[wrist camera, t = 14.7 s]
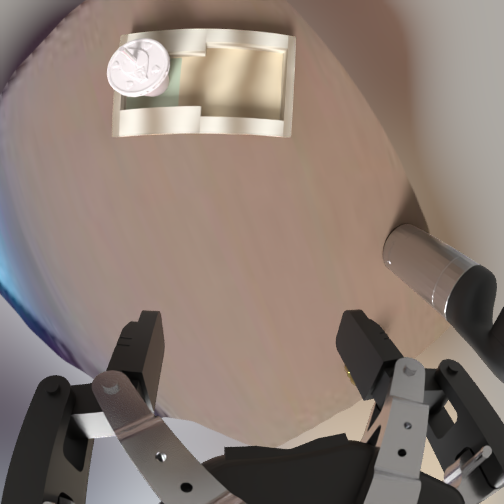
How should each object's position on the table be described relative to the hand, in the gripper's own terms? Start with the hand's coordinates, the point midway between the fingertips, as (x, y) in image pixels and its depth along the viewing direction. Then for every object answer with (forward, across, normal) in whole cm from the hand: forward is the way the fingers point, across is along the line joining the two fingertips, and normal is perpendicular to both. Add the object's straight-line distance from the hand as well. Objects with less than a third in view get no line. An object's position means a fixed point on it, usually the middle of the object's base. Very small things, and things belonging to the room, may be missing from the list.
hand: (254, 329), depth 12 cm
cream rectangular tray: (+28, +4, -16) cm, 32 cm away
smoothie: (+27, +10, -16) cm, 33 cm away
